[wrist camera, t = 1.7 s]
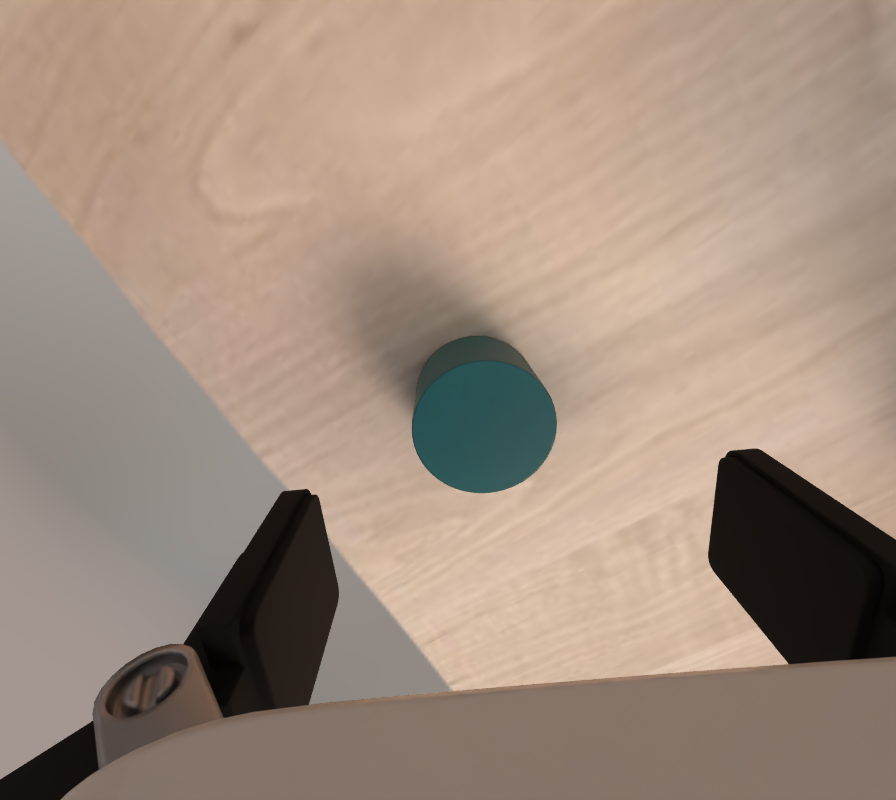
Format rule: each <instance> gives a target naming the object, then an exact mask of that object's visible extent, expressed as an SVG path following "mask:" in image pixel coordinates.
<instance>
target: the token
mask: <svg viewBox="0 0 896 800" xmlns="http://www.w3.org/2000/svg"><path fill="white" fill-rule="evenodd" d="M556 427H557V420H556V412H555V408H554V404H553V402H552V399H551V397H550V395H549V394H548V392H547V390H546V389H545V387H544V386H543V384H542V383H541V381H540V380H539V379H538V377H537V376H536V374H535V373H534V371H533V370H532V369H531V367H530V366H529V364H528V363H527V361H526V360H525V359H524V358H523V356H522V355H521V354H520V353H519V352H518V351H517V350H516V349H514V348H513V347H512V346H510V345H509V344H507V343H505V342H503V341H500V340H498V339H495V338H491V337H484V336H470V337H464V338H460V339H457V340H454V341H452V342H450V343H448V344H446V345H444V346H443V347H441V348H440V349H439V350H437V351H436V352H435V353H434V354H433V355H432V356H431V357H430V358H429V359H428V361H427V362H426V364H425V365H424V367H423V369H422V371H421V373H420V376H419V378H418V382H417V388H416V396H415V404H414V412H413V420H412V438H413V442H414V446H415V449H416V452H417V454H418V456H419V458H420V460H421V462H422V463H423V464H424V466H425V467H426V468H427V469H428V471H429V472H430V473H431V474H432V475H434V476H435V477H436V478H437V479H439V480H440V481H442V482H443V483H445V484H447V485H449V486H451V487H453V488H456V489H459V490H462V491H467V492H473V493H491V492H497V491H501V490H505V489H508V488H510V487H513V486H515V485H517V484H519V483H521V482H523V481H524V480H526V479H527V478H529V477H530V476H531V475H532V474H533V473H535V472H536V471H537V470H538V469H539V467H540V466H541V465H542V464H543V463H544V461H545V460H546V458H547V457H548V455H549V453H550V451H551V449H552V446H553V443H554V440H555V435H556Z"/></svg>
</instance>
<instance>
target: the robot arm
mask: <svg viewBox="0 0 896 800" xmlns="http://www.w3.org/2000/svg"><path fill="white" fill-rule="evenodd" d="M708 558H709V563H710V566H711V568H712V570H713V571H714V572H715V574H716V575H717V576H718V577H719V579H720V580H721V581H722V582H723V583H724V585H725V586H726V587H727V588H728V590H729V591H730V592H731V593H732V595H733V596H734V597H735V598H736V599H737V601H738V602H739V603H740V604H741V606H742V607H743V608H744V609H745V611H746V612H747V613H748V614H749V615H750V617H751V618H752V619H753V620H754V622H755V623H756V624H757V625H758V627H759V628H760V629H761V630H762V631H763V633H764V634H765V635H766V636H767V638H768V639H769V640H770V641H771V643H772V644H773V645H774V646H775V647H776V649H777V650H778V651H779V652H780V654H781V655H782V656H783V657H784V658H785V660H786V661H787V662H788V663H789V664H787V665H773V666H760V667H746V668H733V669H720V670H706V671H693V672H680V673H668V674H655V675H643V676H630V677H618V678H605V679H593V680H581V681H568V682H556V683H544V684H532V685H520V686H508V687H497V688H485V689H474V690H462V691H451V692H440V693H428V694H417V695H405V696H394V697H382V698H372V699H361V700H350V701H340V702H329V703H320V704H312V705H309V702H310V699H311V695H312V692H313V688H314V684H315V681H316V678H317V674H318V670H319V667H320V664H321V660H322V657H323V653H324V650H325V646H326V643H327V639H328V635H329V632H330V629H331V625H332V621H333V618H334V614H335V611H336V607H337V604H338V597H339V590H338V589H339V588H338V583H337V578H336V574H335V569H334V564H333V560H332V555H331V551H330V546H329V542H328V537H327V532H326V528H325V523H324V519H323V514H322V510H321V505H320V501H319V498H318V496H317V495H311V493H310V491H309V490H308V489H304V490H293V491H283V492H282V493H281V494H280V496H279V497H278V499H277V500H276V502H275V504H274V505H273V507H272V508H271V510H270V511H269V513H268V515H267V516H266V518H265V520H264V521H263V523H262V524H261V526H260V527H259V529H258V530H257V532H256V534H255V535H254V537H253V538H252V540H251V542H250V543H249V545H248V546H247V548H246V550H245V551H244V552H243V553H242V554H241V555H240V556H239V558H238V559H237V561H236V562H235V564H234V565H233V567H232V569H231V570H230V572H229V573H228V575H227V576H226V578H225V579H224V581H223V583H222V584H221V586H220V587H219V589H218V590H217V592H216V594H215V595H214V597H213V598H212V600H211V602H210V603H209V605H208V606H207V608H206V609H205V611H204V612H203V614H202V616H201V617H200V619H199V620H198V622H197V623H196V625H195V627H194V628H193V630H192V631H191V633H190V634H189V636H188V638H187V639H186V641H185V642H184V644H169V645H165V646H161V647H158V648H155V649H152V650H150V651H148V652H146V653H143V654H141V655H139V656H138V657H136V658H135V659H133V660H131V661H130V662H128V663H127V664H125V665H124V666H123V667H122V668H121V669H119V670H118V671H117V672H116V673H115V674H114V675H112V677H111V678H110V679H109V680H108V681H107V682H106V684H105V685H104V686H103V687H102V688H101V690H100V692H99V694H98V696H97V698H96V700H95V702H94V708H93V721H92V722H91V723H89V724H87V725H86V726H84V727H83V728H81V729H79V730H78V731H76V732H75V733H73V734H72V735H70V736H68V737H67V738H65V739H64V740H62V741H60V742H59V743H57V744H56V745H54V746H53V747H51V748H49V749H48V750H47V751H45V752H43V753H41V754H40V755H38V756H37V757H35V758H34V759H32V760H31V761H29V762H27V763H26V764H24V765H23V766H21V767H19V768H18V769H16V770H15V771H13V772H12V773H10V774H8V775H7V776H5V777H4V778H2V779H0V800H896V540H895V539H894V538H892V537H891V536H889V535H888V534H886V533H885V532H883V531H882V530H880V529H879V528H877V527H876V526H874V525H873V524H871V523H870V522H868V521H867V520H865V519H864V518H862V517H861V516H859V515H858V514H856V513H855V512H853V511H852V510H850V509H849V508H847V507H846V506H844V505H843V504H841V503H840V502H838V501H837V500H835V499H834V498H832V497H831V496H829V495H828V494H826V493H825V492H823V491H822V490H820V489H819V488H817V487H816V486H814V485H813V484H811V483H810V482H808V481H807V480H805V479H804V478H802V477H801V476H799V475H798V474H796V473H795V472H793V471H792V470H790V469H789V468H787V467H786V466H784V465H783V464H781V463H780V462H778V461H777V460H775V459H774V458H772V457H771V456H769V455H768V454H766V453H765V452H763V451H762V450H759V449H745V450H734V451H729V452H728V453H727V455H726V456H725V458H722V459H721V460H720V461H719V465H718V474H717V482H716V491H715V500H714V508H713V517H712V525H711V534H710V543H709V551H708Z"/></svg>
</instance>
